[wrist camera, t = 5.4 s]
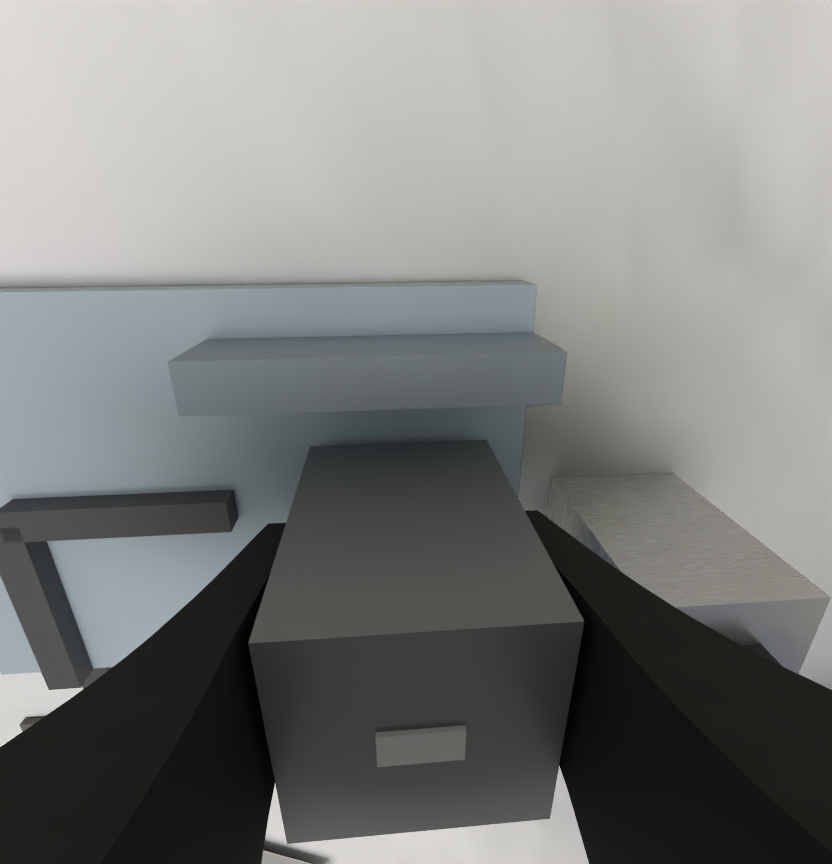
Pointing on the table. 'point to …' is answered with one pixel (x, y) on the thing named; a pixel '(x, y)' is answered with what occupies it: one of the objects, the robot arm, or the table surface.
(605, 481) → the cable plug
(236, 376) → the blue-grey panel
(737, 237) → the table surface
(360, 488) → the block
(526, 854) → the table surface
